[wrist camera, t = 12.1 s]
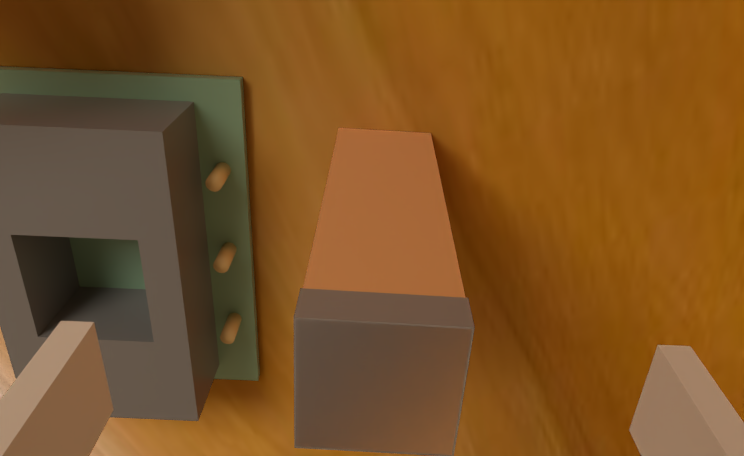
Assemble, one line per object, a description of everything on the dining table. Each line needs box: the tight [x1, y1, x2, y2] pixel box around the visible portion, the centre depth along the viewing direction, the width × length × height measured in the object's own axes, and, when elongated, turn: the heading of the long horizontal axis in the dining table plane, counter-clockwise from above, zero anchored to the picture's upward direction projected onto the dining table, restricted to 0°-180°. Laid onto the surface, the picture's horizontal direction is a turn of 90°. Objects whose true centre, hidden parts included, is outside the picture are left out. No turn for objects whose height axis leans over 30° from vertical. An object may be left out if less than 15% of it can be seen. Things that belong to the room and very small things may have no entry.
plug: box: [294, 128, 475, 456], centre depth 21 cm, size 4×4×14 cm
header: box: [0, 66, 260, 421], centre depth 27 cm, size 16×12×4 cm
